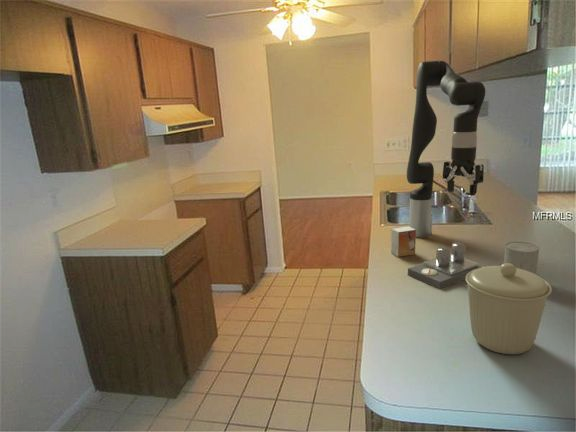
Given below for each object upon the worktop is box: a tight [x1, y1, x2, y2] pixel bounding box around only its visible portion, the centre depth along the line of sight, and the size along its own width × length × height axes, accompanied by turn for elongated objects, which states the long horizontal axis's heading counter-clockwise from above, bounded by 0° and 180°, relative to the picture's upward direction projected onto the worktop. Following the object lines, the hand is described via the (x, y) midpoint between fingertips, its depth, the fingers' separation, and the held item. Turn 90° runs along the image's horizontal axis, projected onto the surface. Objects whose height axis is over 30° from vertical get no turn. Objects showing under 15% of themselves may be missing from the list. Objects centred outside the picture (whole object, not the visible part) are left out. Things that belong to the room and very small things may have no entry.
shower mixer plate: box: [422, 253, 480, 275], centre depth 140 cm, size 14×12×1 cm
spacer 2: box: [450, 241, 466, 263], centre depth 141 cm, size 4×4×6 cm
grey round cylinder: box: [503, 241, 540, 275], centre depth 129 cm, size 10×10×12 cm
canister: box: [464, 262, 553, 356], centre depth 96 cm, size 18×18×21 cm
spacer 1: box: [435, 246, 451, 268], centre depth 137 cm, size 4×4×6 cm
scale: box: [407, 263, 482, 289], centre depth 139 cm, size 21×14×3 cm, turn 119°
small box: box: [390, 225, 417, 258], centre depth 159 cm, size 8×6×10 cm
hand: (461, 193), depth 135 cm, fingers open, 8 cm apart
